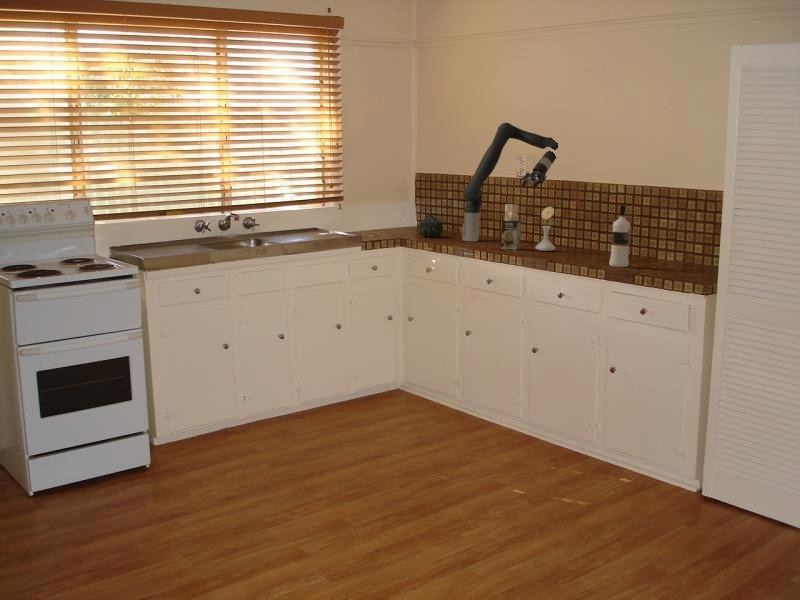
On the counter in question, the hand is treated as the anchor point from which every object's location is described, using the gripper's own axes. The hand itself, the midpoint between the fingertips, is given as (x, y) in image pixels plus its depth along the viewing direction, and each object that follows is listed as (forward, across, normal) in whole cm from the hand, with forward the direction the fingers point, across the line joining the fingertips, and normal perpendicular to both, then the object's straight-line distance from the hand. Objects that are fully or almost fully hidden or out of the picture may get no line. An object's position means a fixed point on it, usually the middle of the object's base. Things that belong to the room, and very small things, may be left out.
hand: (527, 187), depth 507 cm
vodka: (+40, +83, +9) cm, 93 cm away
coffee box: (+36, +4, +13) cm, 39 cm away
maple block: (+25, +4, +1) cm, 25 cm away
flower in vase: (+28, +20, +21) cm, 40 cm away
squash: (+34, -68, +16) cm, 77 cm away
